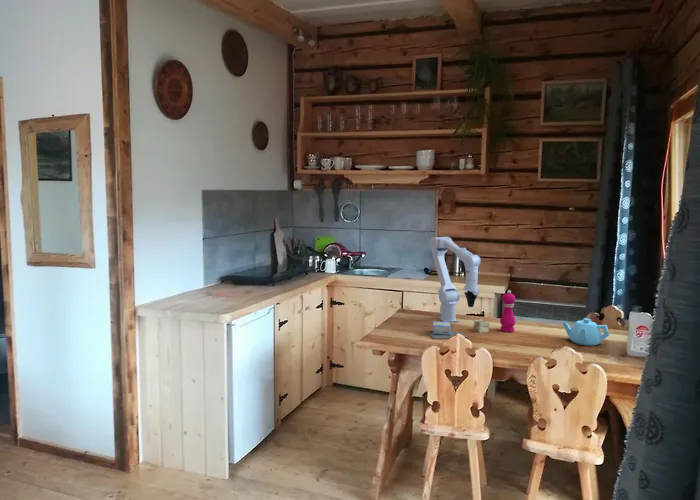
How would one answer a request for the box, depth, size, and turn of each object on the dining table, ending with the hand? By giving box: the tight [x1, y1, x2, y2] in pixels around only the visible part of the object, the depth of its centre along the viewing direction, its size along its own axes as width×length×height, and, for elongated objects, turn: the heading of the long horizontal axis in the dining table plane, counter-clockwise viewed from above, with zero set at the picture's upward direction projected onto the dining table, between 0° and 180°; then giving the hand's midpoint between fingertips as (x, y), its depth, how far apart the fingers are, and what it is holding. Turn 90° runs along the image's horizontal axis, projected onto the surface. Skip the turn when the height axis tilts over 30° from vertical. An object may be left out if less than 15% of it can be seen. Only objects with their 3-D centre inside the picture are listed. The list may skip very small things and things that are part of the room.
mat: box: [427, 330, 468, 340], centre depth 257 cm, size 10×16×1 cm, turn 98°
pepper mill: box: [499, 289, 516, 333], centre depth 265 cm, size 7×7×20 cm
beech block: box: [473, 319, 490, 334], centre depth 265 cm, size 5×5×5 cm
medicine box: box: [432, 320, 452, 335], centre depth 260 cm, size 8×4×9 cm
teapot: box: [561, 317, 610, 347], centre depth 247 cm, size 15×15×11 cm
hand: (470, 306), depth 270 cm, fingers closed
